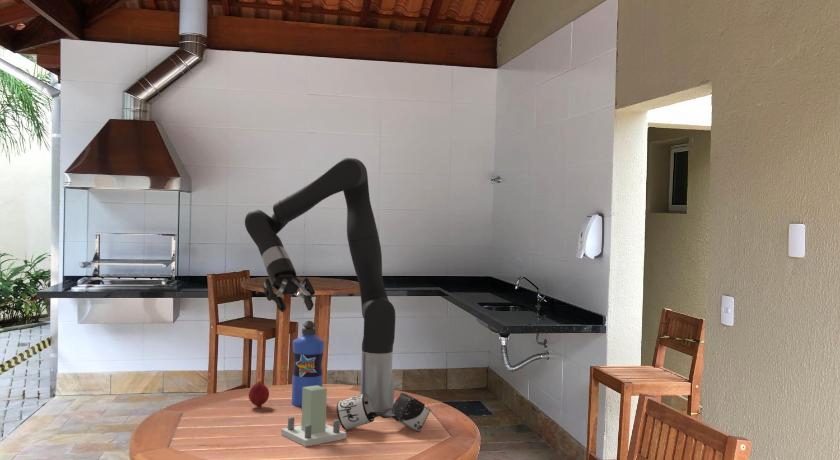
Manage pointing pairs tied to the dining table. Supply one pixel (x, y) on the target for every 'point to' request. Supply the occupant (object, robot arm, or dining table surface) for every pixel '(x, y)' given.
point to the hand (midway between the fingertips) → (297, 309)
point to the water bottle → (306, 362)
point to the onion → (259, 394)
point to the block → (314, 408)
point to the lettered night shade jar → (362, 412)
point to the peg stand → (312, 439)
